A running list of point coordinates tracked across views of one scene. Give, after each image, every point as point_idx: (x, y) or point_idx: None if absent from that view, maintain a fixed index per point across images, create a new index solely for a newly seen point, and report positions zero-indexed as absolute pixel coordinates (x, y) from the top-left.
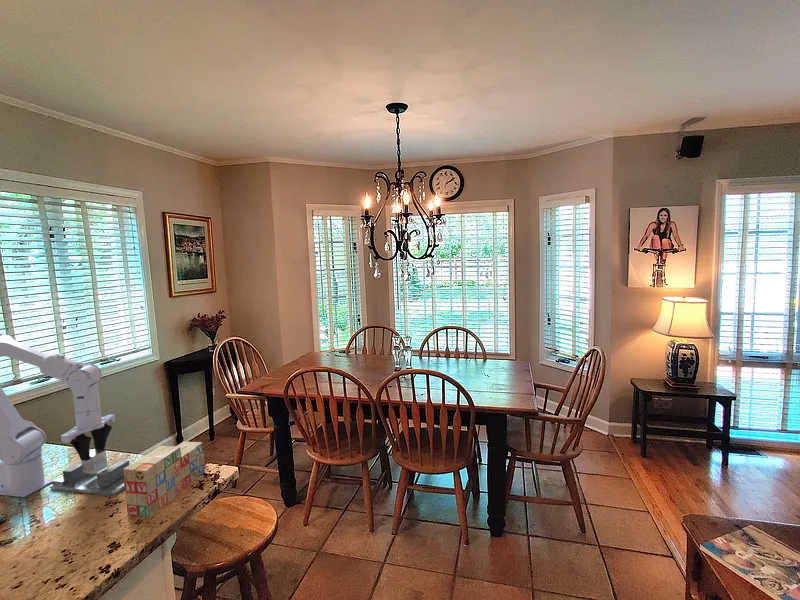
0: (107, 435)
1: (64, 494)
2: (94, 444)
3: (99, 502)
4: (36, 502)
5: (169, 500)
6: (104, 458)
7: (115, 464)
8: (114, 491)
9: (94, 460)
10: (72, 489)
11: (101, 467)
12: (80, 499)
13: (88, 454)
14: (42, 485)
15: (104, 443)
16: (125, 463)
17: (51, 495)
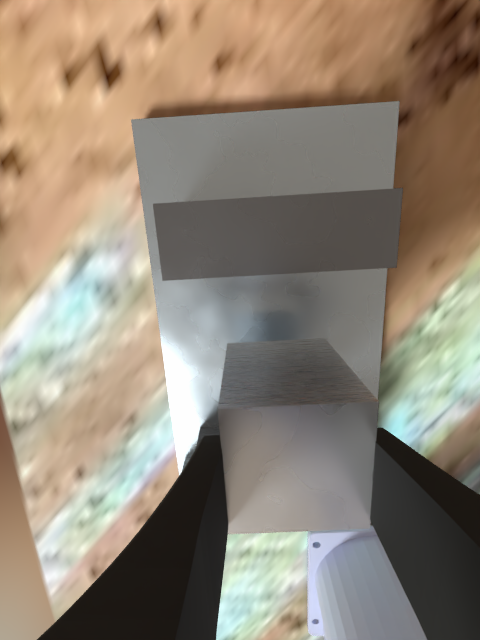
0: (98, 597)
1: (392, 394)
2: (221, 581)
3: (451, 137)
4: (459, 447)
5: None
6: (244, 371)
7: (239, 257)
8: (385, 104)
9: (351, 379)
10: (376, 383)
11: (274, 347)
12: (428, 277)
13: (406, 459)
14: (357, 534)
15: (186, 494)
16: (192, 202)
17: (404, 440)
